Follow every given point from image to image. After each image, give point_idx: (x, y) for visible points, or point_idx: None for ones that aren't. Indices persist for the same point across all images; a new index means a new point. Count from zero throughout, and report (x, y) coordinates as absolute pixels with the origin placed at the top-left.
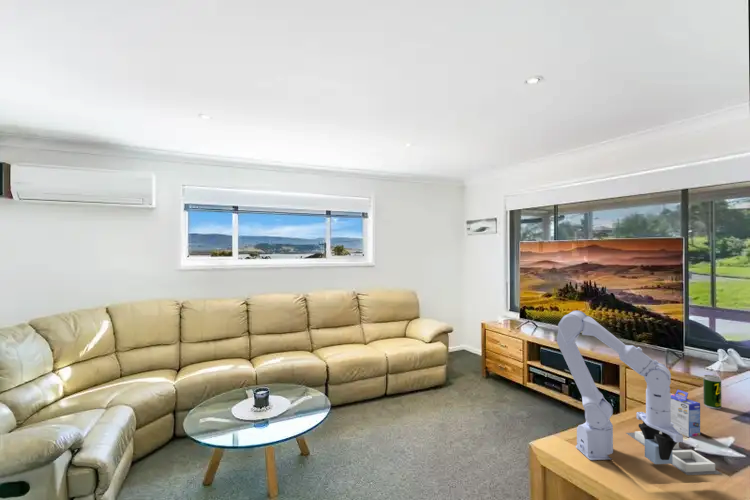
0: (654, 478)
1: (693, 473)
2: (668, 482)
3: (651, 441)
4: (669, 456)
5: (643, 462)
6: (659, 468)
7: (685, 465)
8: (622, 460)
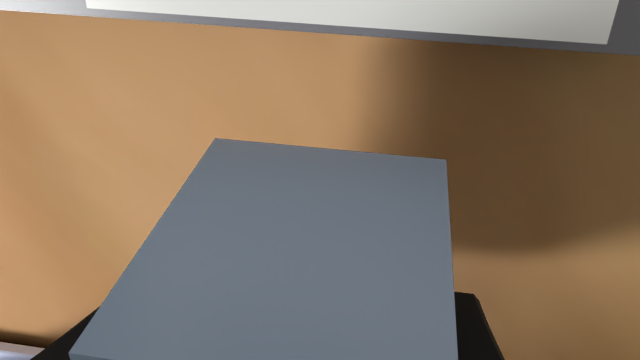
0: None
1: None
2: (569, 267)
3: None
4: (492, 342)
5: None
6: (306, 139)
7: (591, 37)
8: None
